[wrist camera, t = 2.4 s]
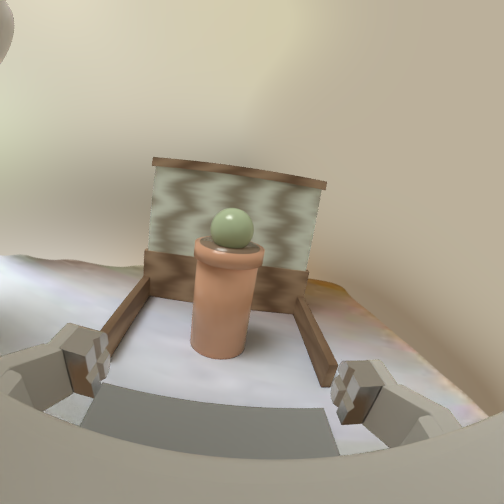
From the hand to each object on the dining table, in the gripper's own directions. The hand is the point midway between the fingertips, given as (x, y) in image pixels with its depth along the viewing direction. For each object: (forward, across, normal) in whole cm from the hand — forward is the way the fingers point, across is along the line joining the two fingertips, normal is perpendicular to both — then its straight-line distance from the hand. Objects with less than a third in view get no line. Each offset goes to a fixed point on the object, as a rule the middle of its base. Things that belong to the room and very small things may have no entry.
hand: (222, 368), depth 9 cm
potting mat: (+5, 0, +13) cm, 14 cm away
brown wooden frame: (+23, 0, +13) cm, 27 cm away
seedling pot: (+21, 0, +13) cm, 25 cm away
